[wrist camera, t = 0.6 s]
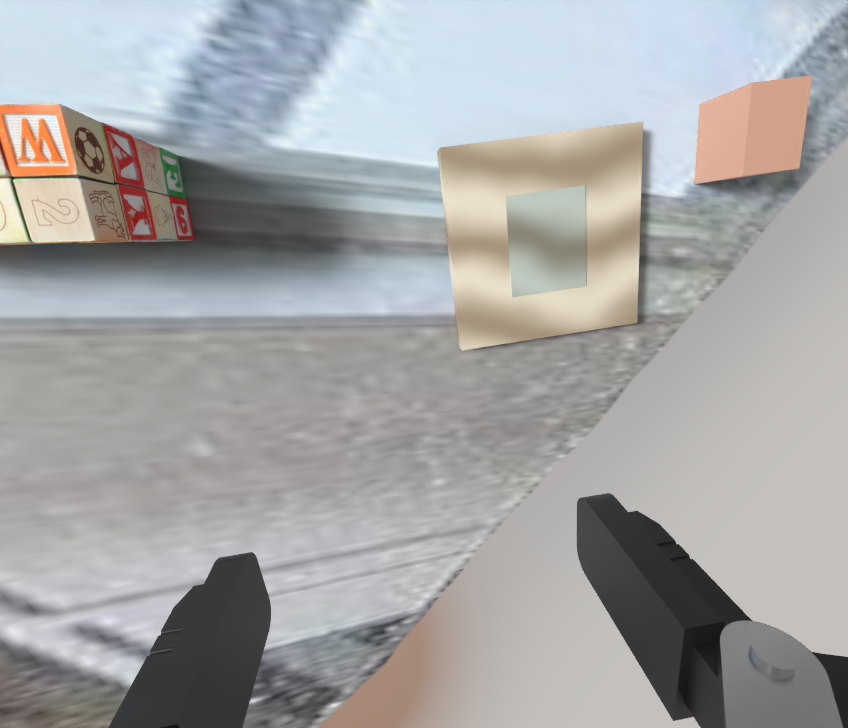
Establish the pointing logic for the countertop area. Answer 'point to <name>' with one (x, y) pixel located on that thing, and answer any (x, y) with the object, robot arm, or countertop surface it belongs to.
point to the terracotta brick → (752, 130)
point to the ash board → (543, 233)
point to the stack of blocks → (84, 181)
